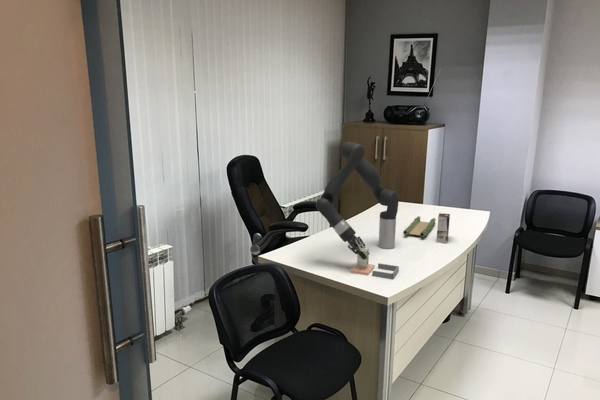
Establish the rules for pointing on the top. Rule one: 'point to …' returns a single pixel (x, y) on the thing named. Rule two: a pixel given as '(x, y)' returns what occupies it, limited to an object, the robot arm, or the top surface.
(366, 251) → the sage block
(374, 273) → the charcoal channel
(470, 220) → the top surface
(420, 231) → the stretcher
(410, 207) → the top surface
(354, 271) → the terracotta tile
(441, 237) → the coffee box
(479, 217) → the top surface
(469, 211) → the top surface
